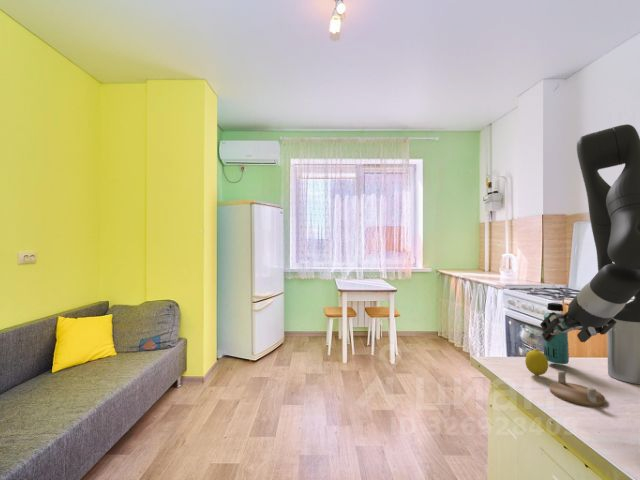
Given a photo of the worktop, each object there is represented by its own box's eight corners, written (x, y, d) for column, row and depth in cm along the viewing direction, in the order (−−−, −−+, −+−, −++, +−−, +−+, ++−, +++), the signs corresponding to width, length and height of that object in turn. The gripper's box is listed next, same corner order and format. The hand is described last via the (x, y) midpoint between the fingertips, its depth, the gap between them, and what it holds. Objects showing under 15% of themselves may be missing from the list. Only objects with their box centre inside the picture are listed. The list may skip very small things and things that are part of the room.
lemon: (552, 381, 89) (551, 352, 89) (530, 379, 90) (530, 351, 90) (542, 373, 94) (542, 346, 94) (522, 371, 95) (521, 345, 95)
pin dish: (551, 382, 88) (550, 368, 88) (603, 393, 81) (603, 378, 81) (548, 397, 79) (548, 381, 79) (606, 411, 72) (606, 394, 72)
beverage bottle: (570, 365, 100) (569, 303, 101) (568, 371, 96) (566, 306, 96) (545, 360, 105) (544, 300, 105) (542, 365, 100) (541, 303, 101)
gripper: (620, 289, 72) (583, 326, 83) (555, 289, 73) (527, 325, 84) (643, 317, 67) (600, 353, 78) (572, 316, 68) (540, 351, 79)
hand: (562, 338), depth 81 cm, fingers open, 8 cm apart
